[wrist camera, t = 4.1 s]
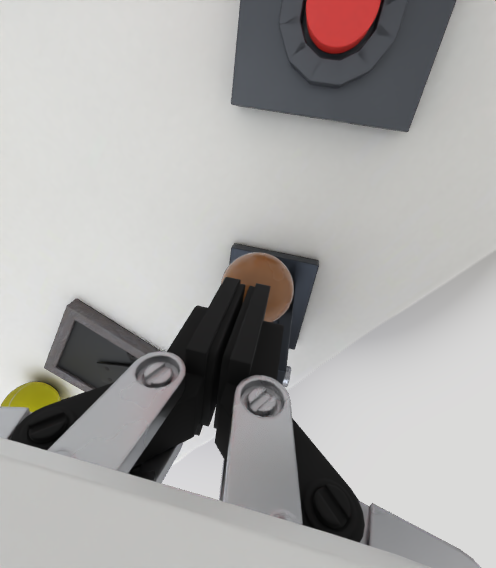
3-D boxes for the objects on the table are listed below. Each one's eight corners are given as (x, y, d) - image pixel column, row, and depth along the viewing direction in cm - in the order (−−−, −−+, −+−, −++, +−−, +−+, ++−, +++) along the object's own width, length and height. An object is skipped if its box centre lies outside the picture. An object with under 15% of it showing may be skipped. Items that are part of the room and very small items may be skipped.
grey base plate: (472, -73, 16) (515, -128, 13) (399, 131, 21) (416, 132, 18) (257, -92, 17) (243, -146, 14) (237, 105, 22) (223, 102, 19)
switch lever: (231, 230, 13) (208, 289, 11) (304, 245, 12) (293, 308, 11) (232, 348, 23) (220, 388, 21) (271, 358, 23) (263, 399, 21)
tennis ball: (62, 410, 48) (26, 452, 41) (24, 386, 46) (-20, 425, 40) (77, 391, 44) (39, 434, 38) (36, 364, 43) (-10, 404, 37)
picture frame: (202, 377, 37) (76, 298, 35) (197, 389, 36) (64, 307, 33) (160, 423, 44) (52, 359, 42) (154, 435, 42) (41, 370, 40)
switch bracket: (234, 242, 28) (188, 312, 17) (318, 260, 27) (322, 343, 17) (224, 325, 33) (183, 417, 22) (295, 342, 32) (286, 445, 22)
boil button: (386, -30, 15) (394, -47, 13) (362, 58, 17) (367, 51, 15) (315, -37, 15) (316, -55, 14) (300, 49, 17) (298, 42, 16)
